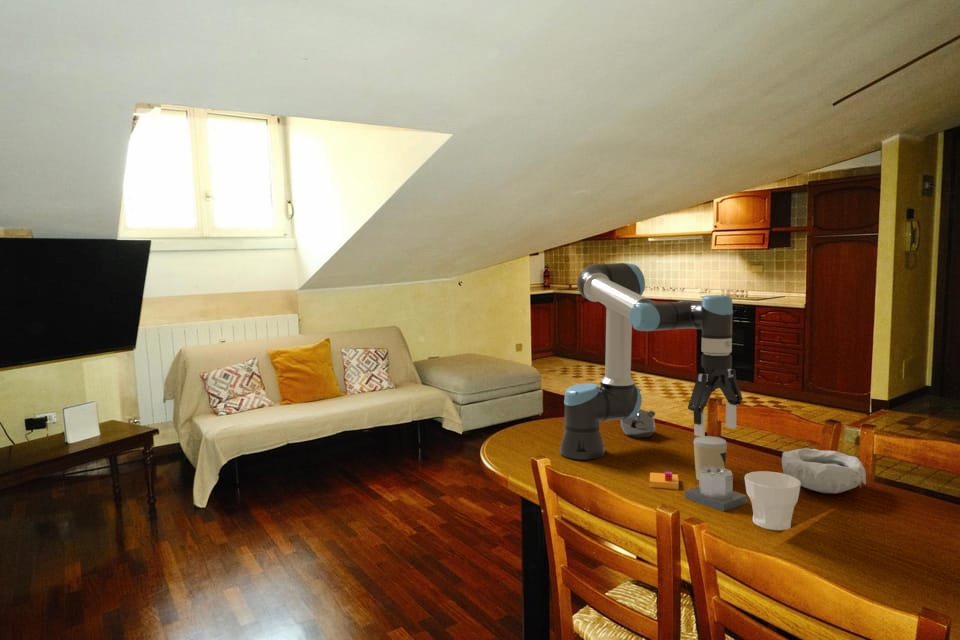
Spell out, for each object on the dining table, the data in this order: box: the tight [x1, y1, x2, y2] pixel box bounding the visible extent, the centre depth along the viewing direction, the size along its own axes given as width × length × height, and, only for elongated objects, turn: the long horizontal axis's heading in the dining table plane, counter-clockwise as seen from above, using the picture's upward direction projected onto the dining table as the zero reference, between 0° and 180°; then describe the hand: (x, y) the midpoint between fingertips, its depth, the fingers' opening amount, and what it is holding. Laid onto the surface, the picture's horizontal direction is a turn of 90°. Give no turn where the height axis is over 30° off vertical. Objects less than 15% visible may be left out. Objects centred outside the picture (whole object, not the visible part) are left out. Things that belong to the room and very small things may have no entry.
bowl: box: [781, 447, 867, 495], centre depth 167 cm, size 21×20×10 cm
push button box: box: [649, 471, 680, 490], centre depth 175 cm, size 8×8×4 cm
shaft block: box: [684, 472, 748, 513], centre depth 162 cm, size 12×10×8 cm
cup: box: [743, 470, 802, 531], centre depth 146 cm, size 12×12×11 cm
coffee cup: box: [692, 435, 728, 481], centre depth 178 cm, size 9×9×12 cm
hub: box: [698, 466, 734, 499], centre depth 162 cm, size 8×8×6 cm
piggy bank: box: [620, 408, 656, 439], centre depth 221 cm, size 11×15×12 cm
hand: (715, 431), depth 161 cm, fingers open, 13 cm apart
